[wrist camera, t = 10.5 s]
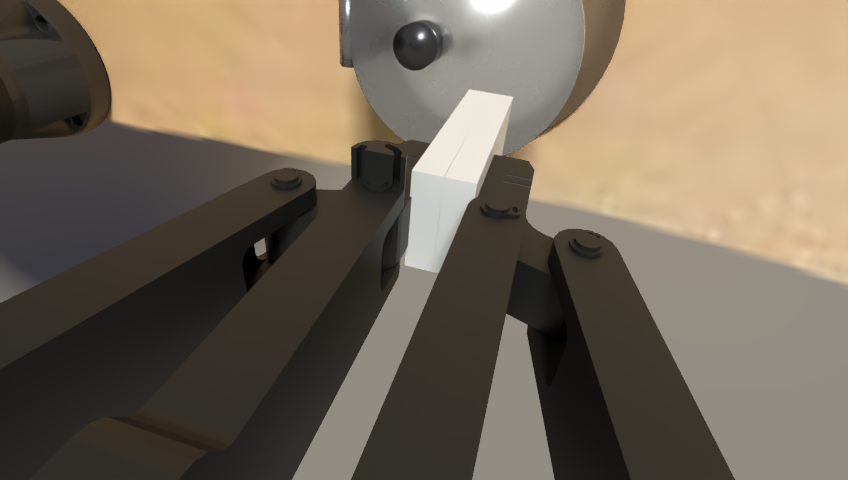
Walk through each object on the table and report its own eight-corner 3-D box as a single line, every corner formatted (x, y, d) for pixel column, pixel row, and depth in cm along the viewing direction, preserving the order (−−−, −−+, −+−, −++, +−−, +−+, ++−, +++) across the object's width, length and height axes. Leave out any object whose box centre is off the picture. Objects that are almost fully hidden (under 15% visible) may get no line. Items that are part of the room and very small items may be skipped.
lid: (346, 130, 32) (328, 142, 31) (343, -114, 25) (318, -118, 23) (550, 177, 29) (544, 195, 27) (622, -87, 21) (621, -89, 19)
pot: (365, 119, 42) (321, 156, 35) (368, -158, 31) (305, -182, 24) (580, 161, 38) (578, 212, 31) (670, -135, 27) (697, -156, 20)
